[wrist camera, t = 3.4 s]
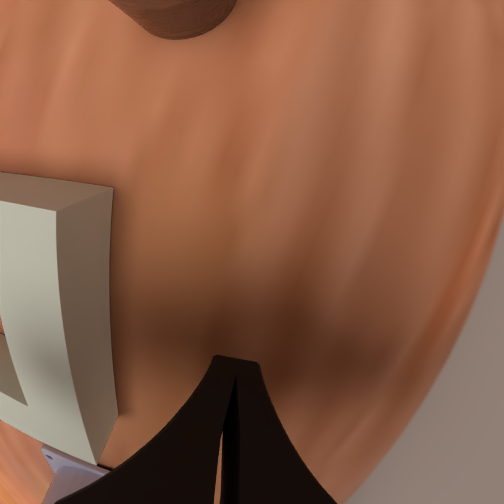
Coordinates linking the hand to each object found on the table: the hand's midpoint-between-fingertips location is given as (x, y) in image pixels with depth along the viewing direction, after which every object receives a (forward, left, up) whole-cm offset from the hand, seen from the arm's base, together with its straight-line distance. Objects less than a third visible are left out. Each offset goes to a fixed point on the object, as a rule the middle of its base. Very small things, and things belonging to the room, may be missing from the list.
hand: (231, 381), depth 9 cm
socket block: (0, +9, -1) cm, 10 cm away
